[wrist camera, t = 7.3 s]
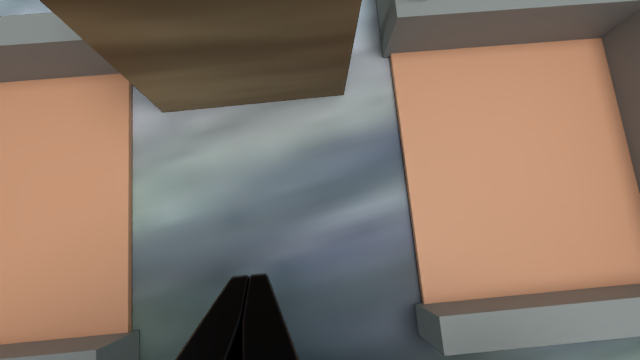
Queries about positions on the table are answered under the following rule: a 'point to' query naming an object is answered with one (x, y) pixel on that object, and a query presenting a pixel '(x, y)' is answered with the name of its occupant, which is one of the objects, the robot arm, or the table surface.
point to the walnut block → (220, 47)
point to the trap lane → (419, 163)
